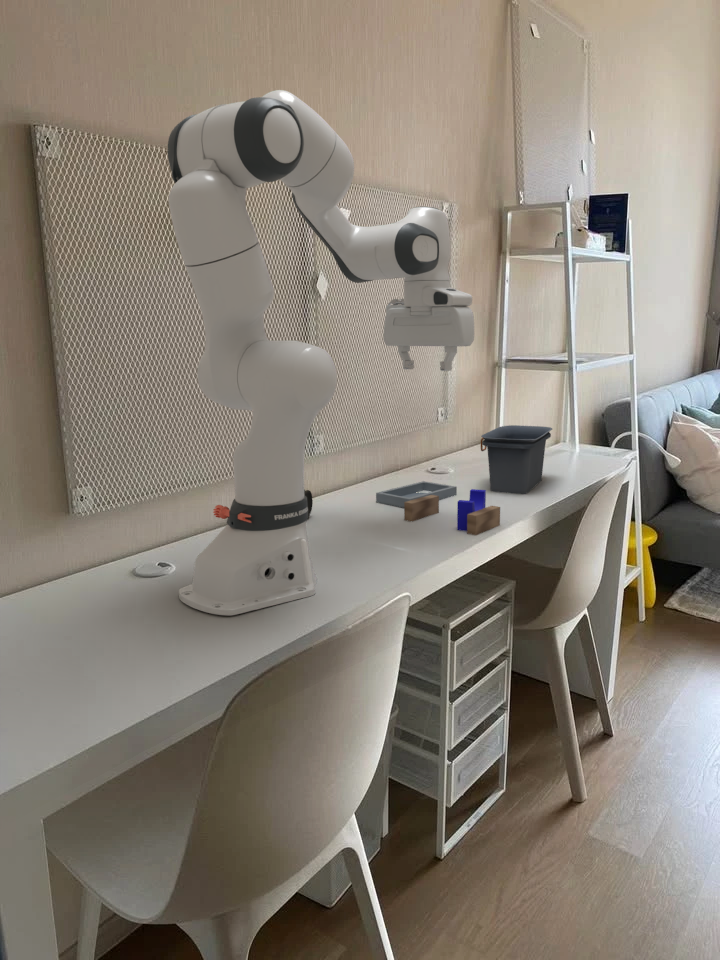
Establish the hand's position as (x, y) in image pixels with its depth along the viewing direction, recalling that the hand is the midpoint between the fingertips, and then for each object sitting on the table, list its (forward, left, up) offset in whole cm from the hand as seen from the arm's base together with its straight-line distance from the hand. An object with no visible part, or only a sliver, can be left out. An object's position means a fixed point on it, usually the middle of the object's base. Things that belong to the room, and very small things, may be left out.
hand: (426, 370), depth 147 cm
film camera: (-16, +26, -32) cm, 44 cm away
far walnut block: (+4, +4, -31) cm, 32 cm away
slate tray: (+15, +15, -31) cm, 38 cm away
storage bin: (+40, +5, -31) cm, 51 cm away
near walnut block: (+4, -11, -31) cm, 34 cm away
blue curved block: (+6, -6, -32) cm, 33 cm away
